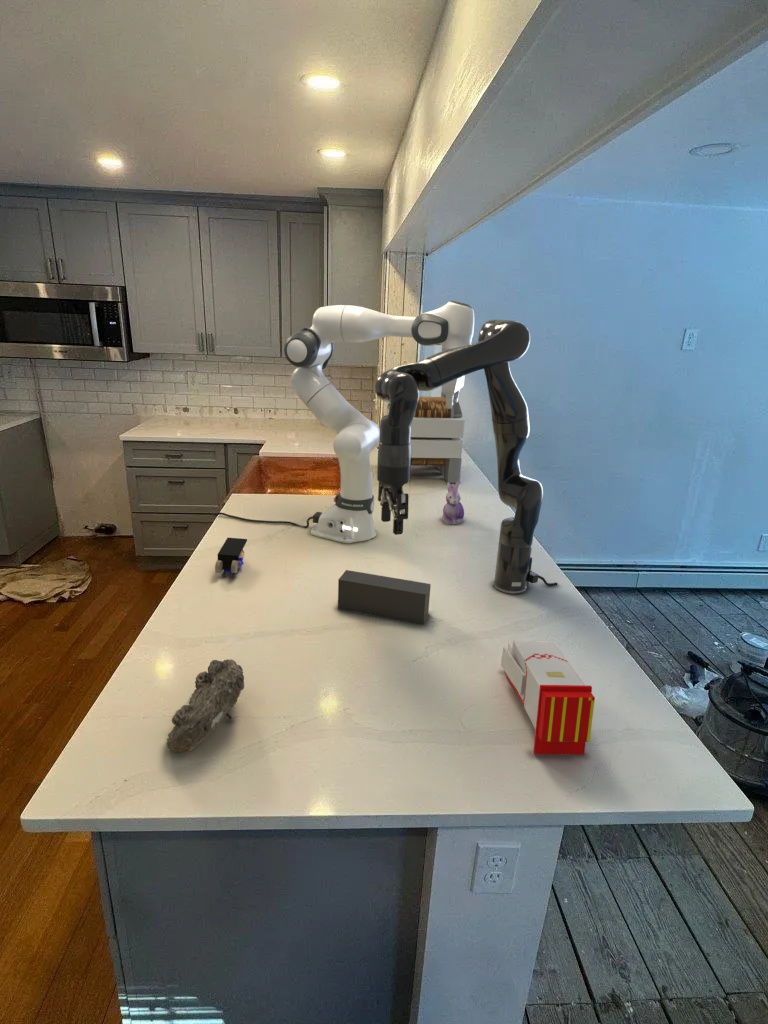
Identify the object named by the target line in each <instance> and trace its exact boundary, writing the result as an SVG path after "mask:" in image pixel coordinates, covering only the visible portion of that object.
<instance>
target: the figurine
mask: <svg viewBox="0 0 768 1024" xmlns="http://www.w3.org/2000/svg"><path fill="white" fill-rule="evenodd" d="M446 485H447V486H446V488H447V493H446V495H445V501H446V504H445V505H444V506H443V508H442V517H441V520H442V521H443V522H444V524H447V525H456V524H461V523H462V522H463V521H464V516H465V509H464V506H463V504H462V503H461V502H460V501H461V499H462V497H461V495H460V493H459V487H460V482H456V483H454V485H452V483H449V482H447V483H446Z"/></svg>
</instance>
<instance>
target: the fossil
mask: <svg viewBox="0 0 768 1024" xmlns="http://www.w3.org/2000/svg"><path fill="white" fill-rule="evenodd" d="M243 670H244V669H243V667H242V665H240V664H237V662H236V661H235V660H234V659H232V658H231V659H227V658H226V659H224V660H223V661H222V660H217V659H212V660H211V661H210V663H209V665H208V666H207V671H201V672H199V673H198V674H197V675H196V676H195V680H194V684H195V685H194V687H195V689H194V690H193V693H192V694H191V697H190V698H189V700H188V704H184V705H182V706H181V707H180V709H177V710H176V711H175V713H174V715H173V716H172V718H171V723H172V724H173V727H172V730H171V731H170V732H168V734H167V738H166V741H167V742H166V745H167V749H168V750H169V751H173V752H174V753H176V754H178V753H182V752H188V751H189V752H192V751H193V750H195V748H196V747H197V746H199V744H200V743H201V742H203V741H204V740H205V739H206V738H207V737H208V736H209V735H210V734H211V733H212V732H214V730H215V729H217V727H218V726H219V724H220V722H221V721H222V720H223V719H224V718H225V716H226V717H227V719H229V720H233V717H232V715H230V714H229V710H230V709H231V708H234V706H235V704H236V703H237V702H238V699H239V697H240V695H241V693H242V691H243V690H245V689H244V688H245V675H244V671H243Z"/></svg>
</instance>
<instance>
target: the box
mask: <svg viewBox="0 0 768 1024" xmlns="http://www.w3.org/2000/svg"><path fill="white" fill-rule="evenodd" d="M337 582H338V583H337V584H338V585H337V587H338V588H337V610H343V611H347V612H353V613H359V614H363V615H369V616H374V617H380V618H386V619H390V620H397V621H402V622H407V623H413V624H418V625H424V624H425V622H426V620H427V617H428V615H429V609H430V597H431V585H432V584H431V583H427V582H420V581H415V580H409V579H404V578H403V579H402V578H397V577H391V576H385V575H378V574H374V573H373V574H372V573H368V572H360V571H355V570H349V569H346V570H345V571H344V572H343V573H342V574H341V576H340V577H339V578H338V581H337Z"/></svg>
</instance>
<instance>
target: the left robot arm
mask: <svg viewBox="0 0 768 1024" xmlns="http://www.w3.org/2000/svg"><path fill="white" fill-rule="evenodd" d="M311 322H312V324H311V326H310V327H308V326H305V327H303V328H301V329H299V330H298V331H296V332H295V333H293V334H291V335H290V336H289V337H288V338H287V339H286V340H285V343H284V345H283V353H284V357H285V359H286V360H287V361H288V363H289V364H290V365H292V366H294V367H295V369H294V370H293V371H292V373H291V375H290V379H289V380H290V381H289V382H290V385H291V386H292V389H293V390H294V392H295V393H296V395H297V396H298V397H299V399H300V400H301V402H302V403H303V404H304V405H305V406H306V408H307V409H308V410H309V411H310V412H311V414H313V415H314V417H315V418H316V419H317V420H318V421H319V423H321V424H322V425H323V426H325V427H327V428H329V429H330V430H332V431H334V432H335V433H336V436H335V438H334V439H333V443H332V446H333V448H332V449H333V451H334V454H335V455H336V457H337V462H338V466H339V473H340V488H339V489H340V490H339V491H338V492H337V494H336V495H335V496H334V497H333V502H334V504H333V505H331V506H329V507H328V508H326V509H325V510H323V512H322V511H316V512H315V513H314V514H313V515H312V516H309V517H308V518H307V519H306V525H300V524H298V523H296V522H293V521H288V520H287V521H285V520H263V519H261V520H260V519H252V518H245V517H241V516H237V515H232V514H228V513H226V512H217V513H215V514H214V517H217V516H220V515H221V516H225V517H229V518H233V519H237V520H241V521H245V522H250V523H251V522H252V523H262V524H288V525H293V526H295V527H301V528H304V529H307V528H309V527H310V520H312V523H313V524H314V525H313V526H312V528H311V530H310V533H311V536H315V537H319V538H323V539H326V540H330V541H336V542H339V543H343V544H352V543H357V542H365V541H368V540H372V539H373V538H375V537H376V535H377V532H376V528H375V523H374V513H373V512H374V509H375V496H374V472H373V470H372V466H371V465H372V464H371V460H370V458H371V457H370V455H371V452H372V451H373V450H374V449H376V448H377V446H378V445H379V437H380V426H379V425H378V424H377V423H376V422H375V421H373V420H371V419H369V418H367V417H366V416H365V415H364V414H363V413H362V412H360V411H359V410H358V409H357V408H355V406H353V405H352V404H350V402H348V400H346V399H345V397H344V396H343V395H342V394H341V393H340V392H339V390H338V389H337V388H336V387H335V386H334V385H333V384H332V383H331V382H330V380H329V379H328V378H327V377H326V376H325V374H324V371H323V370H324V369H326V368H327V365H328V363H329V361H330V360H331V358H332V356H333V354H334V351H335V344H334V343H347V344H359V343H366V342H371V341H375V340H379V339H380V340H381V339H383V338H391V337H396V338H397V337H398V338H413V340H414V341H415V342H416V343H417V344H418V345H420V346H423V347H433V346H441V352H442V351H445V350H448V349H452V348H457V347H462V346H466V345H471V344H472V340H473V337H474V332H475V312H474V308H473V307H472V306H471V305H470V304H468V303H465V302H461V301H456V300H449V301H448V302H447V303H446V304H444V305H442V306H440V307H438V308H436V309H432V310H429V311H426V312H423V313H420V314H419V315H417V316H406V315H393V314H388V313H384V312H380V311H377V310H374V309H371V308H367V307H363V306H359V305H352V304H351V305H350V304H334V305H333V304H332V305H325V306H321V307H318V308H317V309H316V310H315V311H314V313H313V316H312V321H311ZM465 376H466V375H464V376H462V377H460V378H457V379H455V380H453V381H451V382H449V383H447V384H444V385H442V386H441V392H442V393H443V394H446V408H450V409H451V408H452V407H453V404H457V402H459V396H460V391H461V389H462V388H464V386H465Z"/></svg>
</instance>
